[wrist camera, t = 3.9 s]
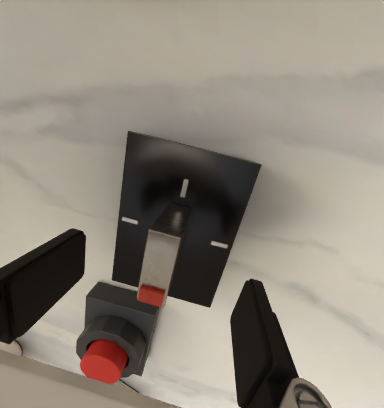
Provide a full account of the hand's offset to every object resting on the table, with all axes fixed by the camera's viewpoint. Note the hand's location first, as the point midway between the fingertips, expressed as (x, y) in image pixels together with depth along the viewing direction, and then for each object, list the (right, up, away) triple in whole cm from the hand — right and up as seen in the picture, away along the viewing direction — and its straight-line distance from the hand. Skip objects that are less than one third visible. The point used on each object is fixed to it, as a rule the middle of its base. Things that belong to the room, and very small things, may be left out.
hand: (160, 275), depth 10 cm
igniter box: (-7, -12, +13) cm, 19 cm away
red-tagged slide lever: (0, +2, +5) cm, 5 cm away
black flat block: (+1, +3, +8) cm, 8 cm away
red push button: (-8, -13, +10) cm, 18 cm away
